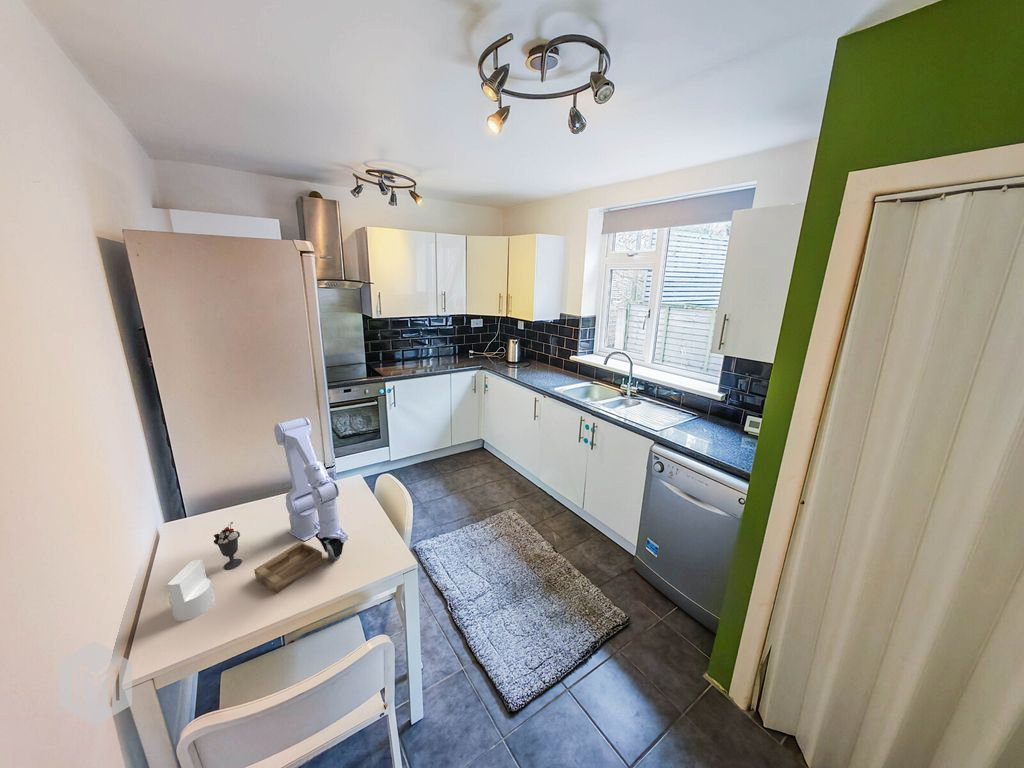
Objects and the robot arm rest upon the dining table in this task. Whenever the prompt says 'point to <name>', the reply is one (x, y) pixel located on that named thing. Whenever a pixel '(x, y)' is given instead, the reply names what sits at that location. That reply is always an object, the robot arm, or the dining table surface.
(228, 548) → the sundae
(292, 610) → the dining table surface
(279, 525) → the dining table surface
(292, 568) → the keyhole board
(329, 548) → the peg
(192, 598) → the base with upright slab
